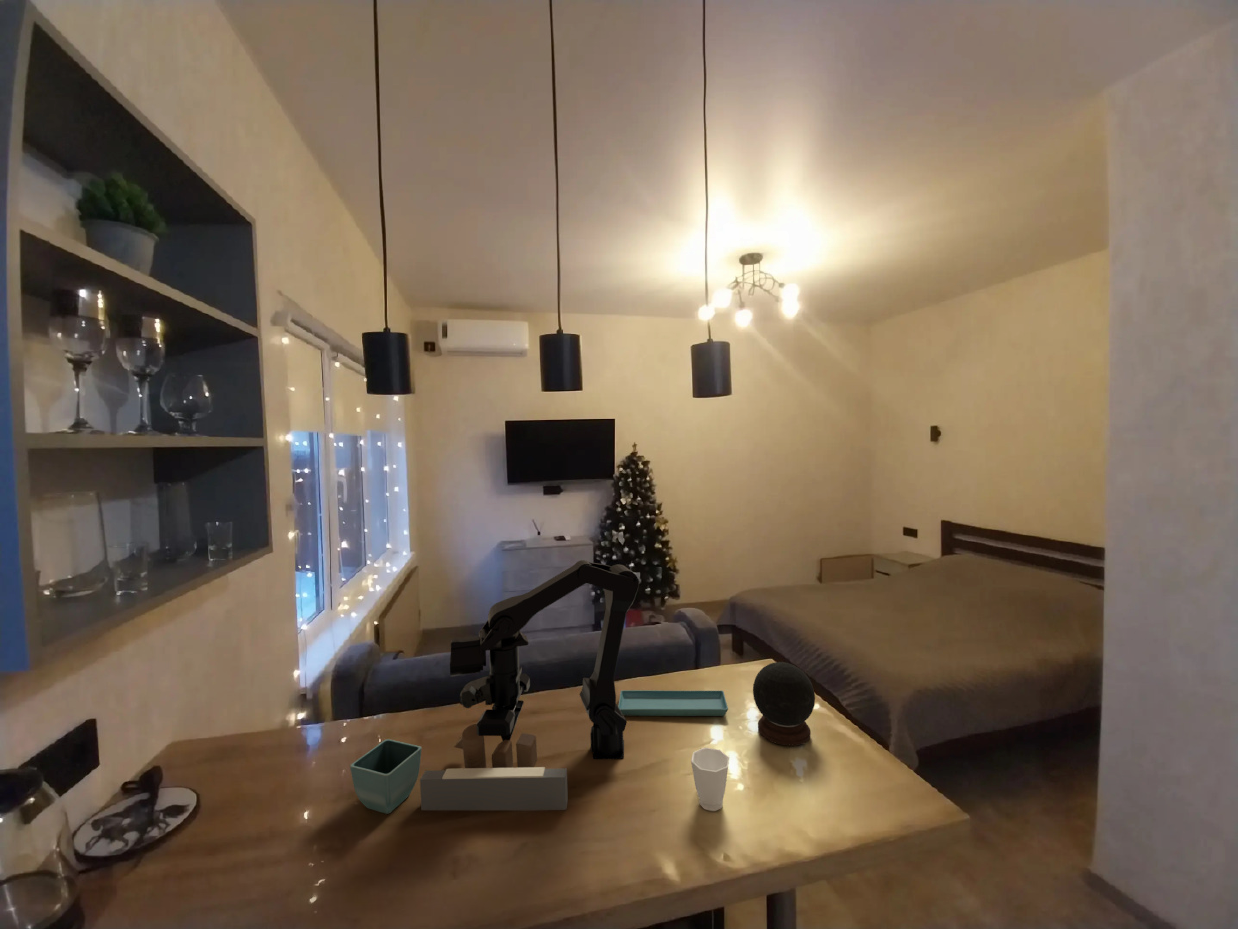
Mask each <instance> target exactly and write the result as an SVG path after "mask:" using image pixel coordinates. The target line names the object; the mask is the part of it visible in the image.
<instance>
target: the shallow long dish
mask: <svg viewBox="0 0 1238 929" xmlns="http://www.w3.org/2000/svg"><path fill="white" fill-rule="evenodd" d="M617 705H618V707H619V709H620V711H621V712H622V714H623V716H636V717H637V716H639V717H641V716H642V717H645V716H646V717H647V716H650V717H660V716H661V717H665V716H666V717H702V716H703V717H718V716H719V717H724V716H725V715H726V714H727V712H728V710H729V706H728V703H727V699H726V695H725V692H724V690H664V689H661V690H658V689H657V690H656V689H655V690H653V689H652V690H649V689H648V690H643V689H642V690H640V689H639V690H636V689H635V690H634V689H633V690H629V689H628V690H626V689H625V690H620V693H619V700H618V704H617Z"/></svg>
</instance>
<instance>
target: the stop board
mask: <svg viewBox="0 0 1238 929" xmlns="http://www.w3.org/2000/svg"><path fill="white" fill-rule="evenodd" d="M419 783H420V784H419V786H420V787H419V789H420V807H421V809H420V810H421V811H566V810H567V807H568V801H569V799H568V797H569V796H568V795H569V794H568V769H567V768H546V767H545V766H539V767H538V766H534V767H523V768H518V767H512V768H492V767H487V768H465V767H464V768H461V767H460V768H446V769H445V770H444V769H443V770H440V769H439V770H438V769H436V770H434V769H433V770H431V769H430V770H425V771H424V773H423V774H422V775H421V777H420V779H419Z"/></svg>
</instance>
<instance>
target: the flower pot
mask: <svg viewBox="0 0 1238 929" xmlns="http://www.w3.org/2000/svg"><path fill="white" fill-rule="evenodd" d="M422 749H423V747H422V745H421V746H420V745H416V744H412V743H408V742H403V741H398V740H394V739H390V738H386V739H384V740H383V741H381V742H380V743H379V744H377V745H375V747H373V748H372V749H370V750H369V751H368V752H367V753H365V754H363V755H362V756H360V757H359V758H358V759H356V760H355V761H354V762H352V763H351V764H350V765H349V768H350V774H351V780H352V784H353V788H354V792H355V794H356V796H357V799H358V800H359V801H360V802H361V803H362V804H363V805H364V807H366V808H367V809H369V810H373V811H375V812H379V813H382V814H386V815H387V814H391V813H392V812H393V811H394V810H395V809H396V808H397V807H399V805H400V804H402V803H403V802H404V801H405V800H406V799H407V798H408V797H409V796H410V794H411V793H412V791H413V789H414V787H415V785H416V783H417V780H418V778H419V773H420V767H421V757H422Z"/></svg>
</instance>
